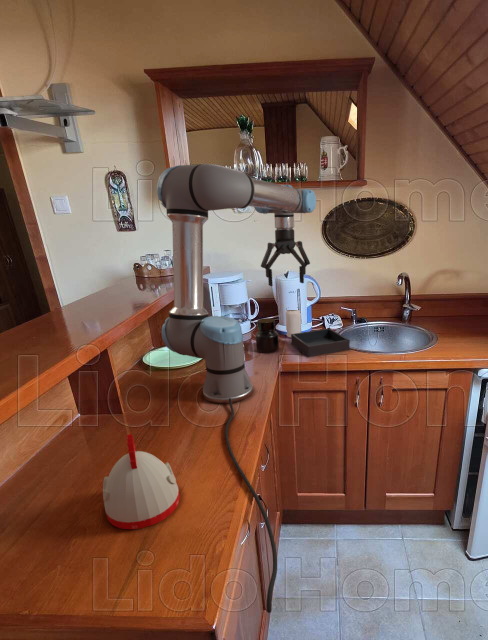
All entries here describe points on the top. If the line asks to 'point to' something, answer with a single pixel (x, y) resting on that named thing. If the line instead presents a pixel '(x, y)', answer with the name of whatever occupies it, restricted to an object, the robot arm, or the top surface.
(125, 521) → the toy helmet
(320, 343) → the pan
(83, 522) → the top surface
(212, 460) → the top surface
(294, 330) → the can
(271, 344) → the ink bottle
